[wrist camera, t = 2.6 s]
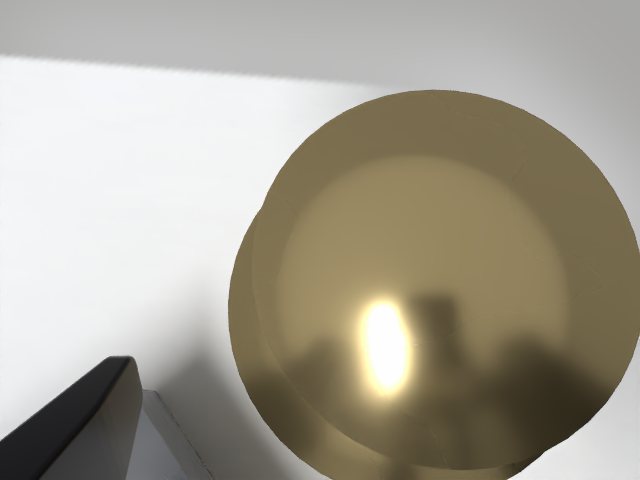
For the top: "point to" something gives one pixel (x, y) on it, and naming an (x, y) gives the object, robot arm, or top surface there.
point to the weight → (434, 291)
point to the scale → (162, 447)
